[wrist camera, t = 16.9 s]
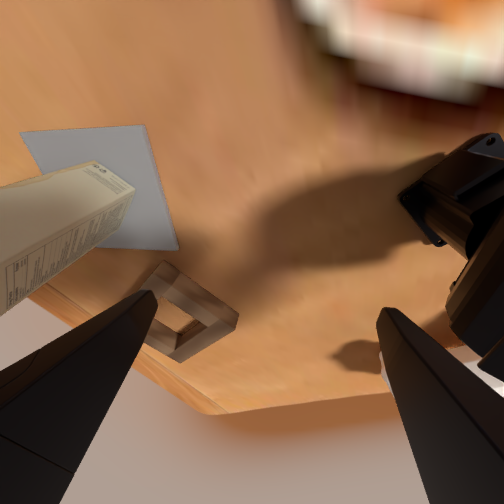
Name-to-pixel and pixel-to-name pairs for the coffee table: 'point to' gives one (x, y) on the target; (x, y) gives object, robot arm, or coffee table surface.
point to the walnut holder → (195, 304)
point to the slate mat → (121, 164)
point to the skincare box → (55, 224)
